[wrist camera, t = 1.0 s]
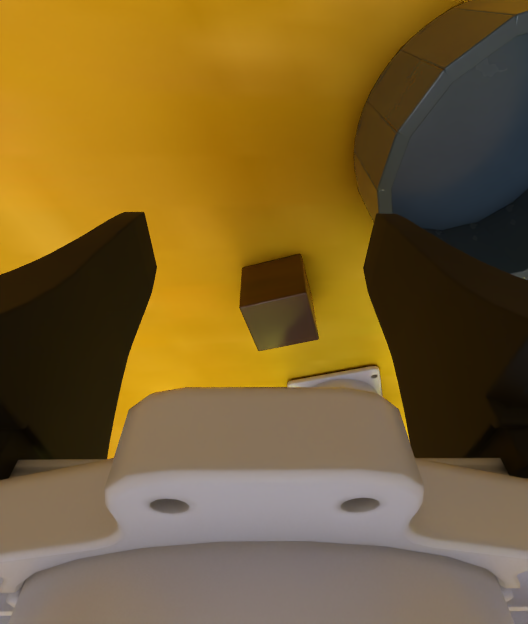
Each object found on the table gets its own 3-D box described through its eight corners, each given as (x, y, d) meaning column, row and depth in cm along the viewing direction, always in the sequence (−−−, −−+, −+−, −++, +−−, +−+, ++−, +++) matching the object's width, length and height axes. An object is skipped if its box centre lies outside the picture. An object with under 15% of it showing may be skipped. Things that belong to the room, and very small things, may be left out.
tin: (557, 207, 21) (627, 258, 17) (363, 252, 23) (385, 308, 19) (631, -56, 14) (784, -74, 10) (339, 44, 16) (367, 63, 12)
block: (312, 299, 26) (319, 339, 23) (258, 310, 26) (258, 351, 23) (300, 253, 23) (306, 292, 20) (241, 267, 24) (238, 307, 21)
